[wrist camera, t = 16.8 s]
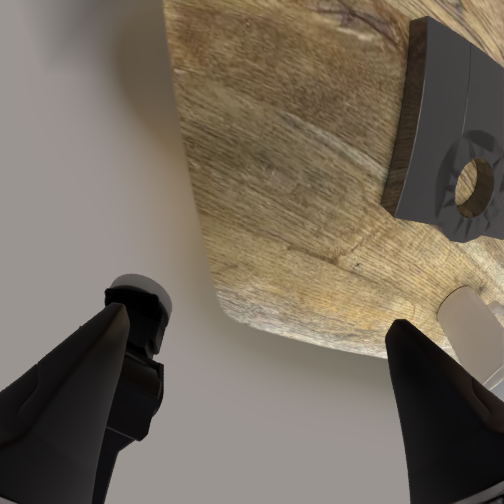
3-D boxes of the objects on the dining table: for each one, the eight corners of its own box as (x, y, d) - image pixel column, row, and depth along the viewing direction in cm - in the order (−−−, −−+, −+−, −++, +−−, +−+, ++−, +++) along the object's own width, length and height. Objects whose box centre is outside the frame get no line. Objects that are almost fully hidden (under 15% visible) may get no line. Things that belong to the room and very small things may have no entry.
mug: (432, 331, 29) (469, 403, 19) (436, 297, 26) (485, 378, 15) (486, 301, 27) (526, 361, 17) (493, 266, 24) (545, 329, 13)
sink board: (376, 217, 20) (389, 231, 18) (410, 20, 12) (427, 15, 9) (486, 238, 21) (499, 249, 19) (520, 96, 13) (536, 100, 10)
